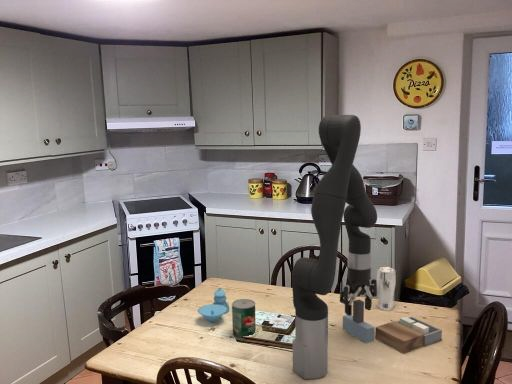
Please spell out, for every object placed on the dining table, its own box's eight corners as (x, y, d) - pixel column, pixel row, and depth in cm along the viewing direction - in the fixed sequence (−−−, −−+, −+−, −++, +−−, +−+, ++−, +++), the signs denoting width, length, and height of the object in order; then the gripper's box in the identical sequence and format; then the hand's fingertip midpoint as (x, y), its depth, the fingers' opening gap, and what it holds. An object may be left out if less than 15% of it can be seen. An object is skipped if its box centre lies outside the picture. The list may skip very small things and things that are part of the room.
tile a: (423, 329, 150) (428, 327, 152) (412, 324, 154) (417, 322, 156) (423, 342, 151) (428, 340, 152) (412, 336, 155) (417, 335, 156)
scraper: (367, 343, 152) (367, 308, 151) (342, 329, 163) (343, 296, 161) (373, 341, 154) (374, 306, 152) (349, 327, 164) (349, 294, 162)
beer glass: (381, 311, 177) (383, 273, 175) (372, 304, 183) (373, 267, 181) (398, 309, 179) (399, 271, 176) (388, 302, 185) (389, 266, 183)
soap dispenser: (222, 328, 165) (221, 304, 163) (194, 326, 167) (193, 302, 166) (235, 308, 182) (235, 286, 181) (210, 306, 184) (209, 284, 183)
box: (424, 346, 150) (425, 336, 149) (394, 331, 160) (395, 321, 160) (441, 340, 154) (441, 330, 153) (411, 325, 164) (411, 316, 164)
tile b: (410, 323, 155) (415, 321, 156) (399, 318, 159) (405, 316, 160) (409, 335, 156) (415, 334, 157) (399, 330, 160) (404, 329, 161)
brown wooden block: (403, 353, 145) (403, 341, 145) (375, 338, 156) (375, 327, 155) (423, 346, 150) (423, 334, 149) (394, 331, 160) (395, 320, 159)
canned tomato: (253, 340, 156) (252, 308, 154) (230, 338, 157) (229, 307, 156) (257, 329, 163) (257, 299, 162) (235, 328, 165) (235, 298, 163)
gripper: (350, 272, 148) (349, 321, 150) (383, 264, 155) (382, 311, 157) (334, 265, 154) (334, 312, 157) (367, 258, 161) (366, 303, 164)
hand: (358, 312), depth 157 cm, fingers open, 8 cm apart
